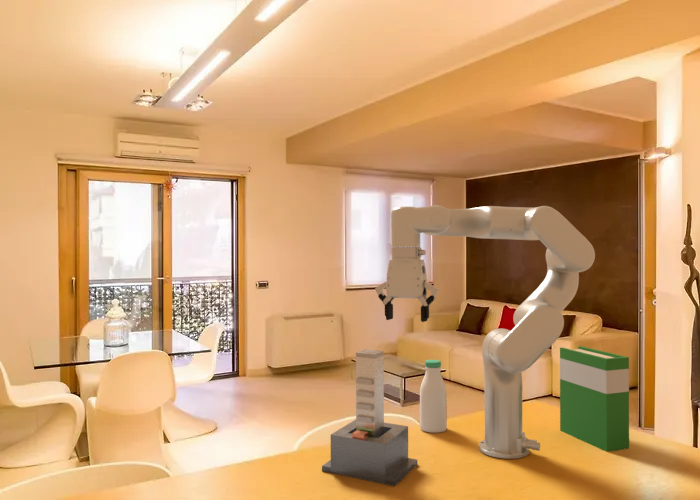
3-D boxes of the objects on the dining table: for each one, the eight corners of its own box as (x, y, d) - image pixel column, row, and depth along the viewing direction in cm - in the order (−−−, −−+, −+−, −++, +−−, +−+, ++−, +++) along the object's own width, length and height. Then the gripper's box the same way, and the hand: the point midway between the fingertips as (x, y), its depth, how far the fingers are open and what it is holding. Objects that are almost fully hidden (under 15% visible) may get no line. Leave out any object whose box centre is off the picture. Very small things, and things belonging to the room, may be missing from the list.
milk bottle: (446, 434, 157) (445, 363, 157) (418, 432, 159) (418, 363, 159) (447, 425, 165) (446, 358, 165) (421, 424, 166) (420, 357, 166)
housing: (417, 464, 135) (417, 423, 135) (394, 486, 123) (394, 441, 123) (349, 451, 144) (349, 413, 144) (321, 470, 132) (321, 428, 132)
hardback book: (560, 430, 160) (559, 347, 160) (581, 427, 162) (580, 346, 162) (606, 451, 143) (606, 359, 143) (629, 448, 145) (628, 357, 145)
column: (383, 441, 134) (383, 350, 134) (373, 449, 129) (373, 355, 129) (365, 438, 137) (365, 349, 137) (354, 445, 132) (354, 353, 132)
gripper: (442, 254, 143) (443, 320, 143) (381, 254, 151) (382, 317, 151) (433, 254, 136) (433, 323, 136) (369, 254, 144) (370, 320, 144)
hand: (406, 320), depth 144 cm, fingers open, 9 cm apart
